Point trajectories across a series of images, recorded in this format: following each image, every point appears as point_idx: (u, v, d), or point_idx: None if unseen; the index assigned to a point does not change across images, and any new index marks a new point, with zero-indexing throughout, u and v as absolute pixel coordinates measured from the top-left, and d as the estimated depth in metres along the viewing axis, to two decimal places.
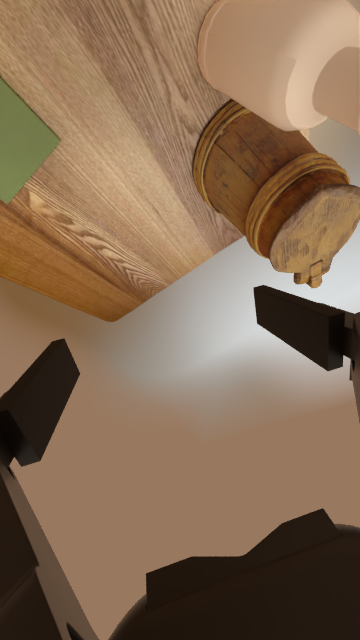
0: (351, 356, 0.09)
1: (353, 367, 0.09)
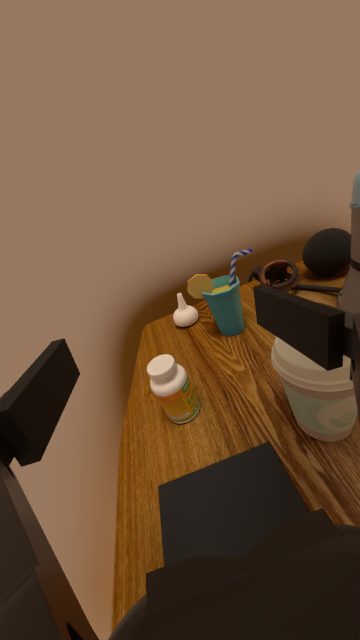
0: (351, 356, 0.09)
1: (353, 367, 0.09)
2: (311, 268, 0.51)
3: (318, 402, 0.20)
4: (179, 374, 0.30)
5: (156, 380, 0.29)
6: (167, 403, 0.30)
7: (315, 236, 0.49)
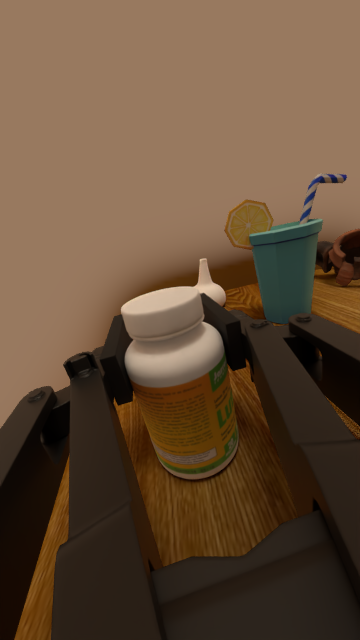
0: (249, 361, 0.11)
1: (252, 370, 0.10)
2: None
3: None
4: (208, 335, 0.11)
5: (141, 334, 0.10)
6: (162, 411, 0.10)
7: None
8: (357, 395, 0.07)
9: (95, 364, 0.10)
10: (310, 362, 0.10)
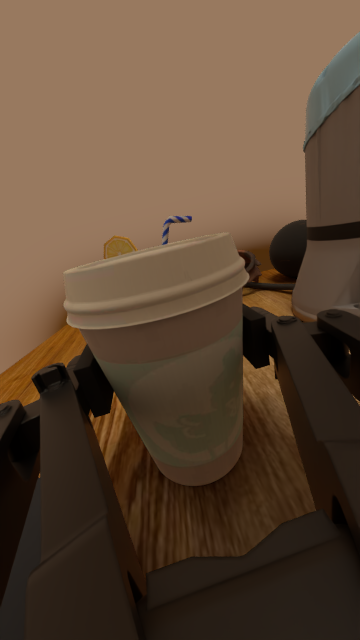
0: (274, 358, 0.11)
1: (277, 367, 0.10)
2: (277, 266, 0.41)
3: (115, 374, 0.09)
4: None
5: None
6: None
7: (283, 227, 0.40)
8: None
9: (67, 375, 0.09)
10: (338, 359, 0.10)
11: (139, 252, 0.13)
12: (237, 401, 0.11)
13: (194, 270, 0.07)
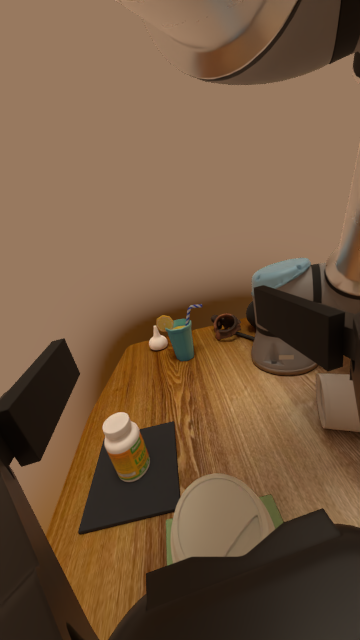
0: (351, 356, 0.09)
1: (353, 367, 0.09)
2: (250, 323, 0.71)
3: None
4: (131, 434, 0.33)
5: (108, 437, 0.32)
6: (115, 460, 0.33)
7: None
8: None
9: None
10: None
11: (202, 482, 0.21)
12: None
13: None
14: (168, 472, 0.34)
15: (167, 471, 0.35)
